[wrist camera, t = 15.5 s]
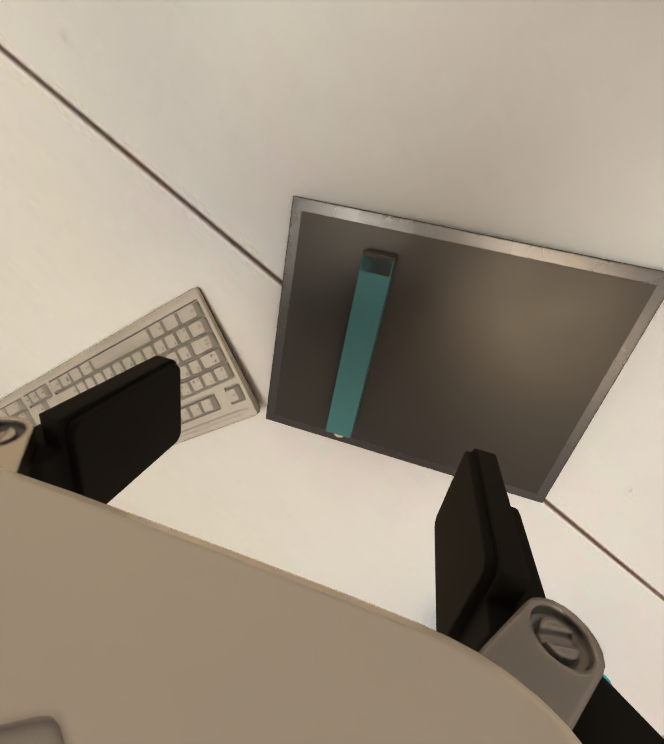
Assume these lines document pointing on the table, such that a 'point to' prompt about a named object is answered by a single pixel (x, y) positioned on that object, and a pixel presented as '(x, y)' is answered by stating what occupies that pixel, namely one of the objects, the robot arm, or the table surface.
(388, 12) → the table surface
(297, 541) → the table surface
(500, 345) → the tablet
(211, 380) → the keyboard
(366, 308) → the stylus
